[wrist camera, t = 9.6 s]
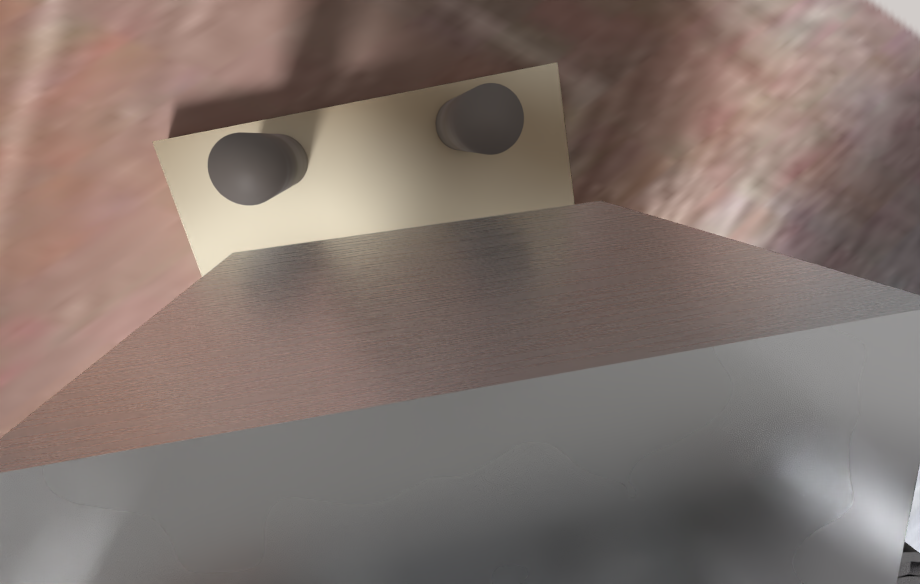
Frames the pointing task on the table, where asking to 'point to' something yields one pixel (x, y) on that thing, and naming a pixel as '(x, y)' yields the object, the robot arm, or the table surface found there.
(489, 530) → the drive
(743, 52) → the table surface
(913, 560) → the robot arm
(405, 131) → the cream peg board
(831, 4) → the table surface
